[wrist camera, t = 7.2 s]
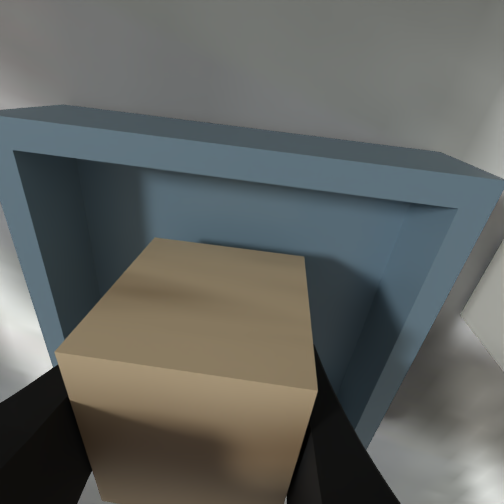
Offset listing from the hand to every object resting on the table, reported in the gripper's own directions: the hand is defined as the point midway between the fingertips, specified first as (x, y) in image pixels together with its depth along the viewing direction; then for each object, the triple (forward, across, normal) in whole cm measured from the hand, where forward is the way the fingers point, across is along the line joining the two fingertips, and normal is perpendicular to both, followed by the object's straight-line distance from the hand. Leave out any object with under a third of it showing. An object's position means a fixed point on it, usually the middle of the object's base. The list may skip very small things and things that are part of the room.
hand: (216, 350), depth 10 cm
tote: (+4, 0, 0) cm, 4 cm away
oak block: (+2, 0, 0) cm, 2 cm away
